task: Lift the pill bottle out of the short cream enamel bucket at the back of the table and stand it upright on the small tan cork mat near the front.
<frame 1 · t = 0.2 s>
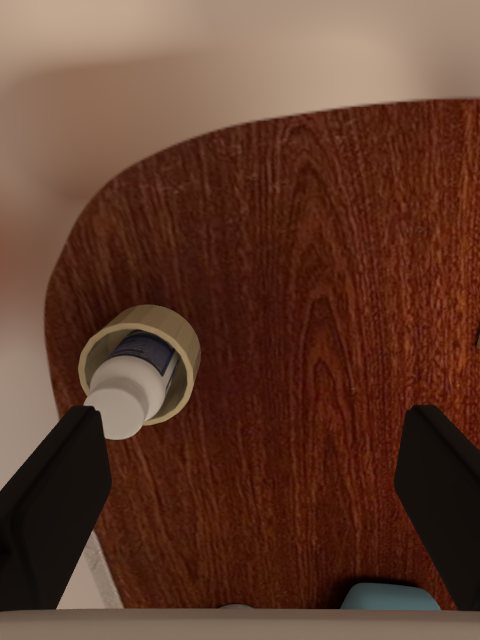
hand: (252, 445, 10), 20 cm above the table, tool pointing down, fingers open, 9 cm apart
bucket: (152, 351, 32), on the table
teapot: (387, 606, 43), on the table
pill bottle: (151, 351, 31), resting on bucket
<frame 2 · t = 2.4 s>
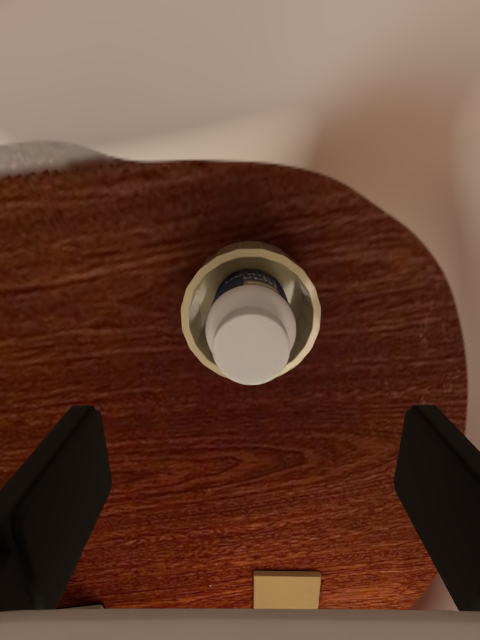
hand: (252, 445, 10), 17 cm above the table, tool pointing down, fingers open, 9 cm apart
bucket: (249, 299, 27), on the table
mat: (285, 593, 37), on the table
pill bottle: (249, 299, 27), resting on bucket
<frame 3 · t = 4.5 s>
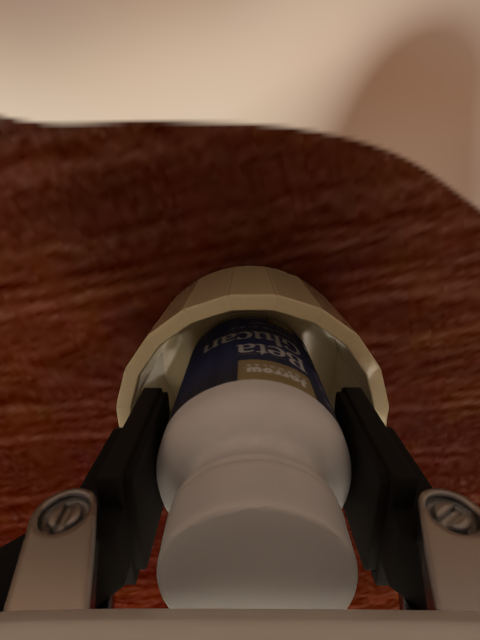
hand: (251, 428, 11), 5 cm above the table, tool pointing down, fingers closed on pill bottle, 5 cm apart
bucket: (249, 360, 16), on the table
pill bottle: (249, 361, 16), resting on bucket, touching gripper
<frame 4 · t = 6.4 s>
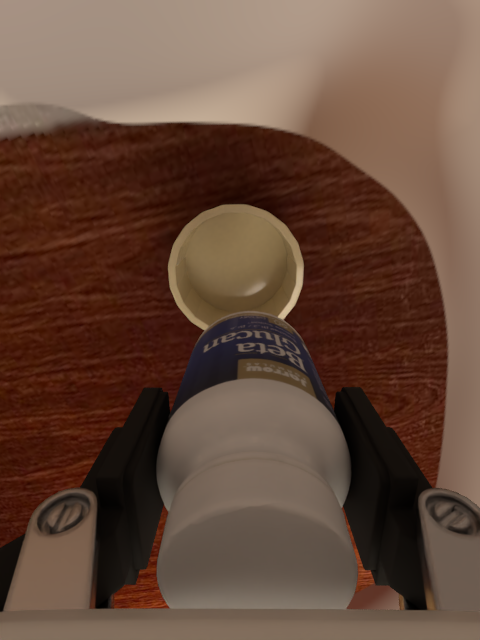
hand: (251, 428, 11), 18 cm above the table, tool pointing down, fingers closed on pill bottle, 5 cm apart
bucket: (236, 262, 27), on the table
pill bottle: (249, 360, 16), point 13 cm above the table, touching gripper
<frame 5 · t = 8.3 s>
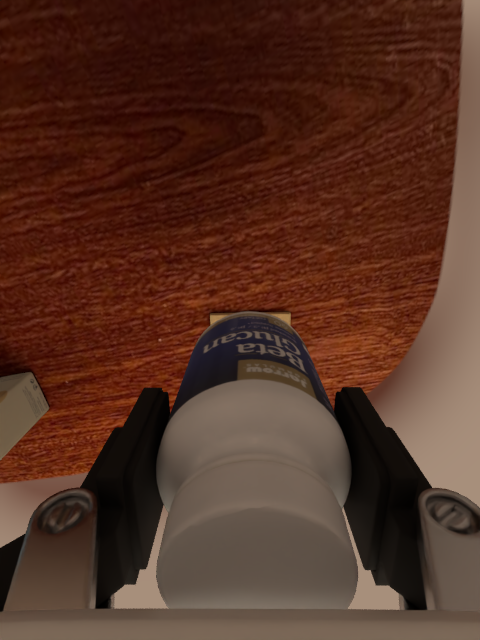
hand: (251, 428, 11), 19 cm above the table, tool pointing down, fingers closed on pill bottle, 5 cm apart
cosmetic box: (13, 395, 33), on the table
pill bottle: (249, 361, 16), point 14 cm above the table, touching gripper
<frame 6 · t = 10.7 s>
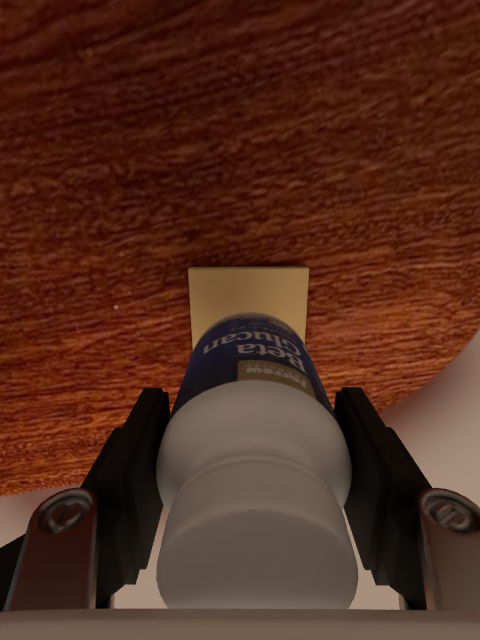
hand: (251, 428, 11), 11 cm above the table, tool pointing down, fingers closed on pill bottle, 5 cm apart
mat: (248, 322, 21), on the table
pill bottle: (249, 361, 16), point 6 cm above the table, touching gripper
when the fingers open (5 cm above the table, at t = 12.4 s): pill bottle stays where it is, resting on mat.
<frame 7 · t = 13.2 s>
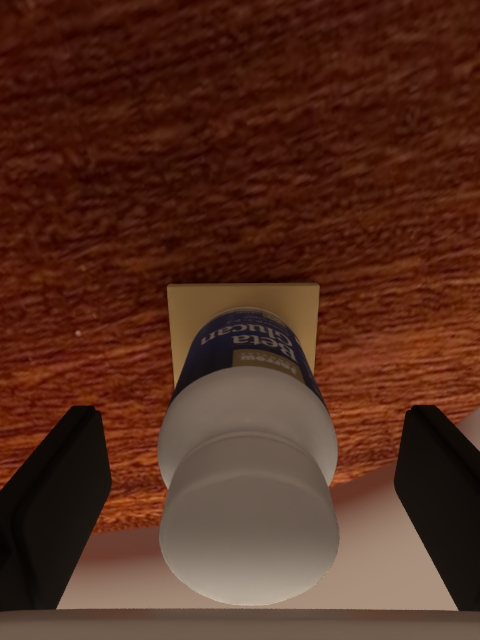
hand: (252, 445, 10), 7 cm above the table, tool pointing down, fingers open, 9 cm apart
mat: (243, 351, 17), on the table
pill bottle: (245, 354, 17), resting on mat
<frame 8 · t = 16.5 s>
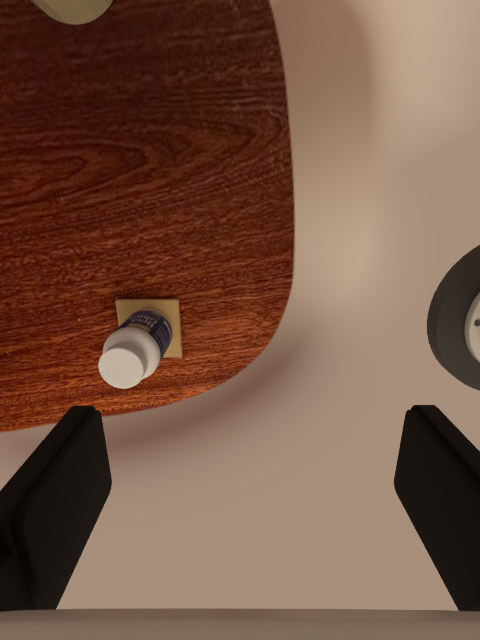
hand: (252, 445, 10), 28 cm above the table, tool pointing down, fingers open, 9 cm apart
mat: (150, 327, 39), on the table
pill bottle: (150, 329, 39), resting on mat
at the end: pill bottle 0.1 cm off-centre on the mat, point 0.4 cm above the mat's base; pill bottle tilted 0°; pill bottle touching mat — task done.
